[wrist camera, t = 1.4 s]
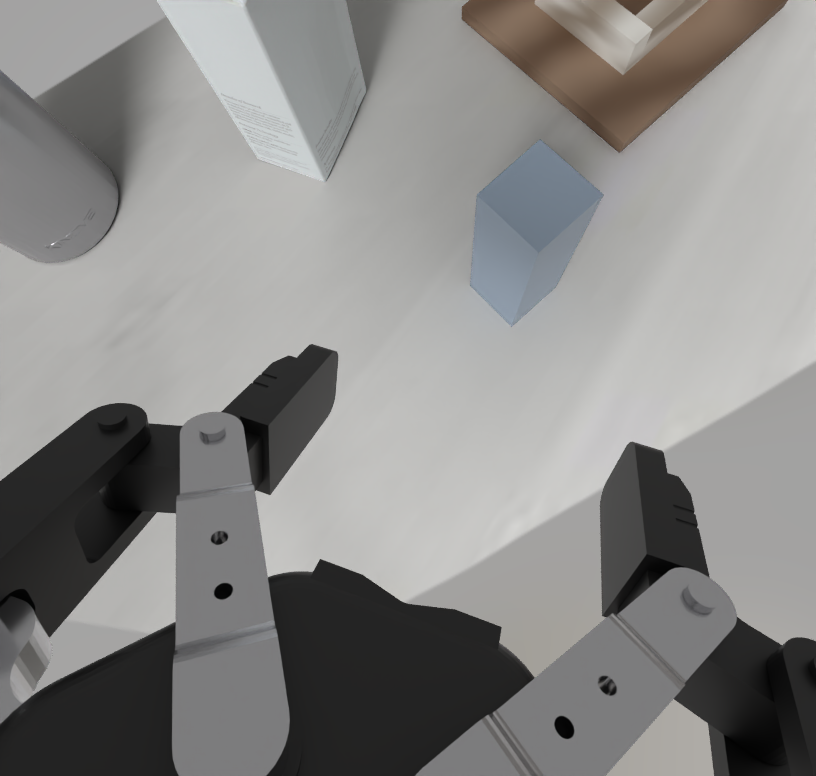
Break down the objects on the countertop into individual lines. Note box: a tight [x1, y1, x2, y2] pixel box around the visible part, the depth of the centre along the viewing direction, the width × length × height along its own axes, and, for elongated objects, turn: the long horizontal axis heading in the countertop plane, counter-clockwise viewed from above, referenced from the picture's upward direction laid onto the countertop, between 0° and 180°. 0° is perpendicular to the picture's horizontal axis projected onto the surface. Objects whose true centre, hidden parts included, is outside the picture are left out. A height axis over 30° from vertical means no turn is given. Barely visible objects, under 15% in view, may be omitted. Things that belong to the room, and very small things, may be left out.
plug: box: [470, 139, 603, 327], centre depth 28 cm, size 4×4×11 cm
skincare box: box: [156, 0, 366, 182], centre depth 30 cm, size 8×6×15 cm
